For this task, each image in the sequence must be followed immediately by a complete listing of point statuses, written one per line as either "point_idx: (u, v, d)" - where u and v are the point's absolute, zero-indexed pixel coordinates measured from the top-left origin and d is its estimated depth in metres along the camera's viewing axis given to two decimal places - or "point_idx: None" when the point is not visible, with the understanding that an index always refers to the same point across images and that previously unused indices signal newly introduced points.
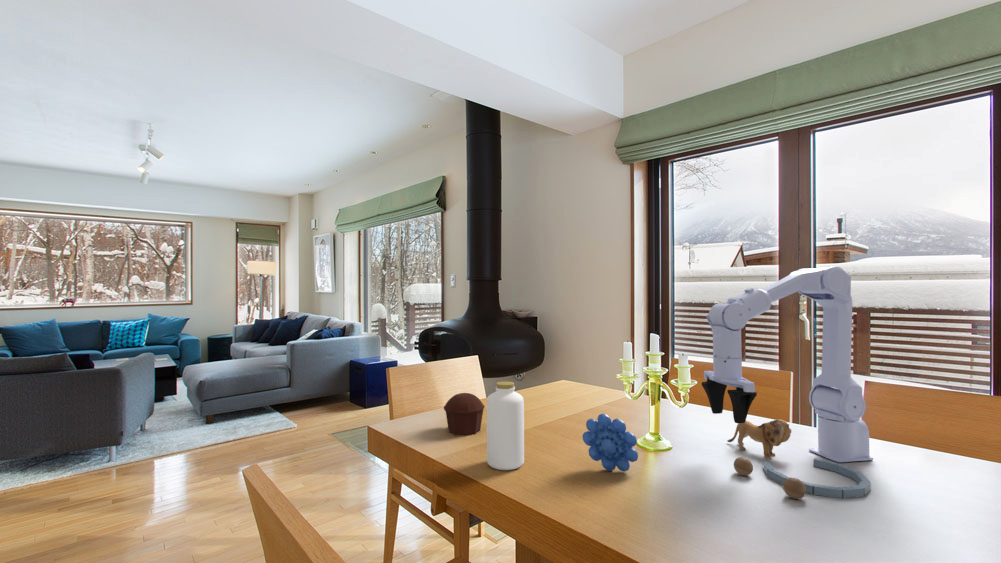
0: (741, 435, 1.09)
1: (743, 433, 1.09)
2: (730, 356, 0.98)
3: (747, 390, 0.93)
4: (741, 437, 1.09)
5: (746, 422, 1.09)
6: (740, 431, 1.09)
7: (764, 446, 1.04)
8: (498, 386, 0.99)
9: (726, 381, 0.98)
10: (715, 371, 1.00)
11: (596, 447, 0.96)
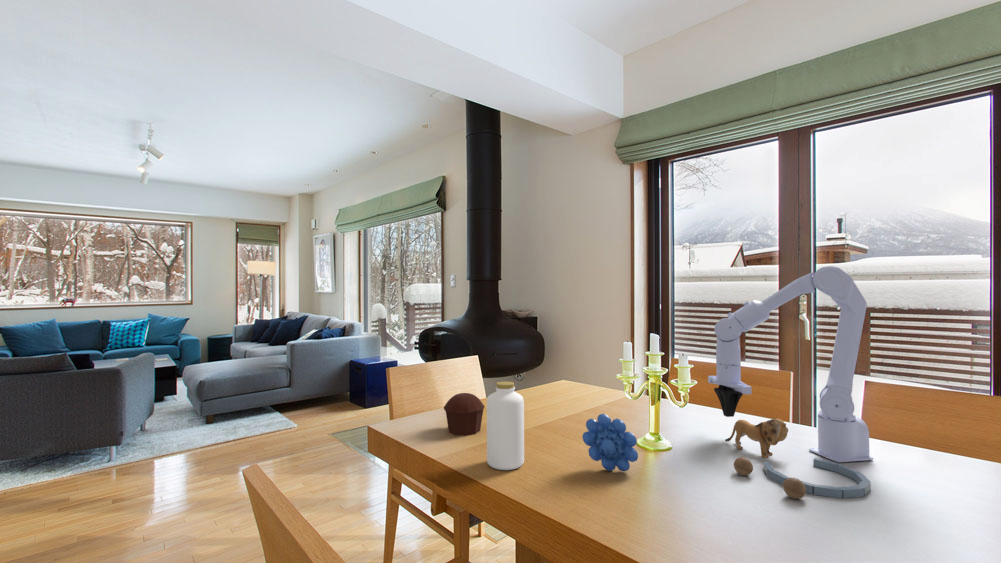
0: (738, 434, 1.10)
1: (740, 432, 1.09)
2: (722, 363, 1.17)
3: (745, 393, 1.11)
4: (738, 436, 1.10)
5: (743, 421, 1.10)
6: (737, 430, 1.10)
7: (761, 445, 1.04)
8: (498, 386, 0.99)
9: (727, 385, 1.15)
10: (718, 376, 1.18)
11: (596, 447, 0.96)
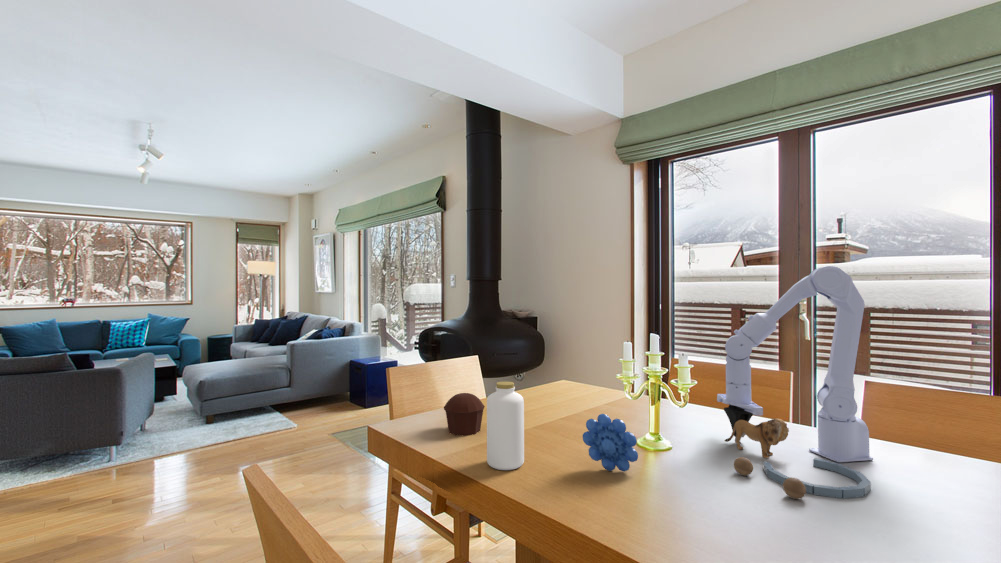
0: (739, 434, 1.09)
1: (741, 432, 1.09)
2: (733, 382, 1.13)
3: (756, 414, 1.07)
4: (739, 436, 1.09)
5: (744, 421, 1.09)
6: (738, 430, 1.10)
7: (762, 445, 1.04)
8: (498, 386, 0.99)
9: (737, 405, 1.11)
10: (728, 395, 1.14)
11: (596, 447, 0.96)
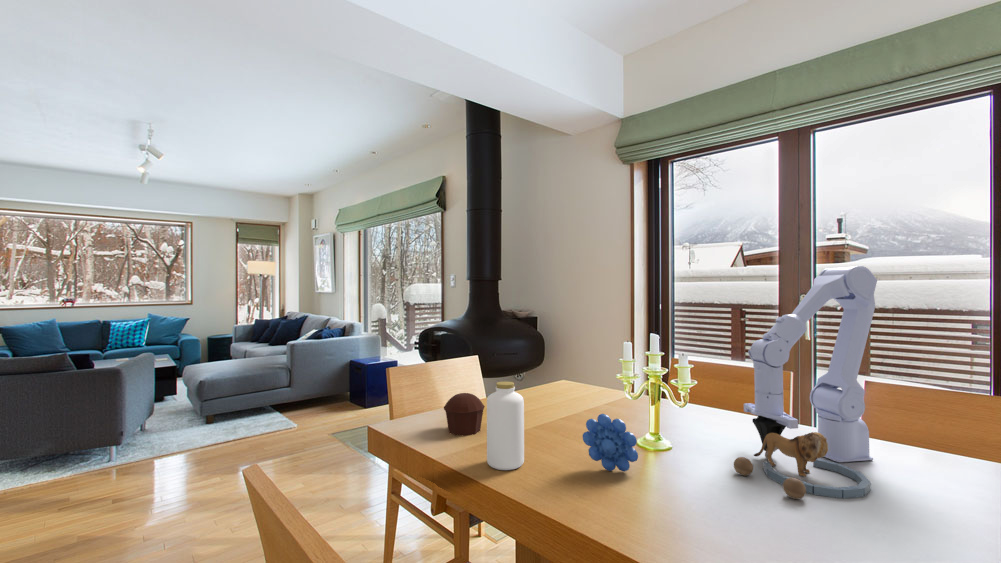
0: (770, 449, 0.99)
1: (773, 447, 0.99)
2: (771, 392, 1.02)
3: (791, 427, 0.97)
4: (770, 451, 0.99)
5: (776, 435, 0.99)
6: (769, 445, 0.99)
7: (798, 462, 0.94)
8: (498, 386, 0.99)
9: (769, 416, 1.01)
10: (757, 406, 1.04)
11: (596, 447, 0.96)
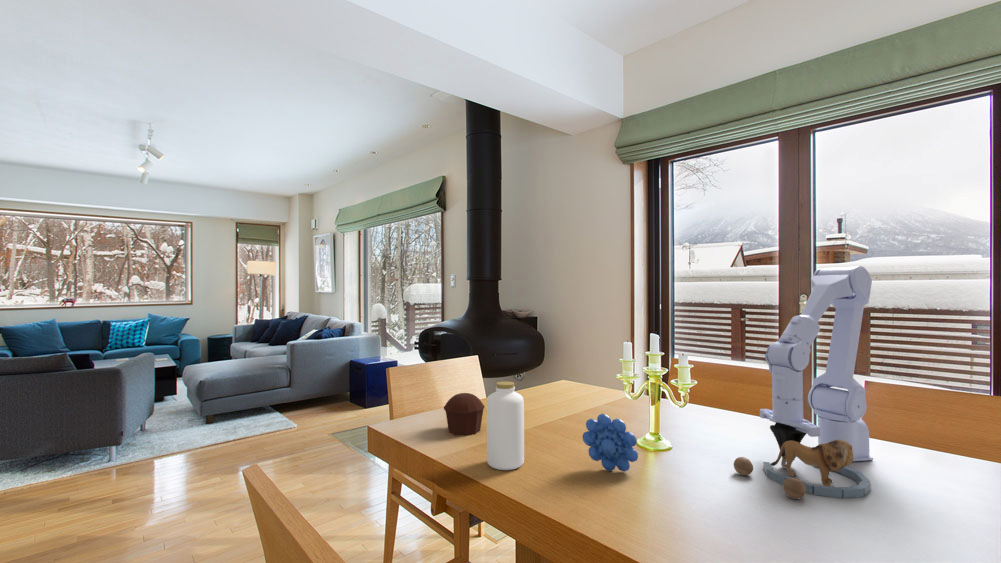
0: (790, 458, 0.94)
1: (792, 456, 0.94)
2: (795, 398, 0.96)
3: (812, 435, 0.91)
4: (790, 460, 0.94)
5: (795, 443, 0.94)
6: (789, 453, 0.94)
7: (823, 472, 0.89)
8: (498, 386, 0.99)
9: (788, 423, 0.96)
10: (775, 412, 0.98)
11: (596, 447, 0.96)
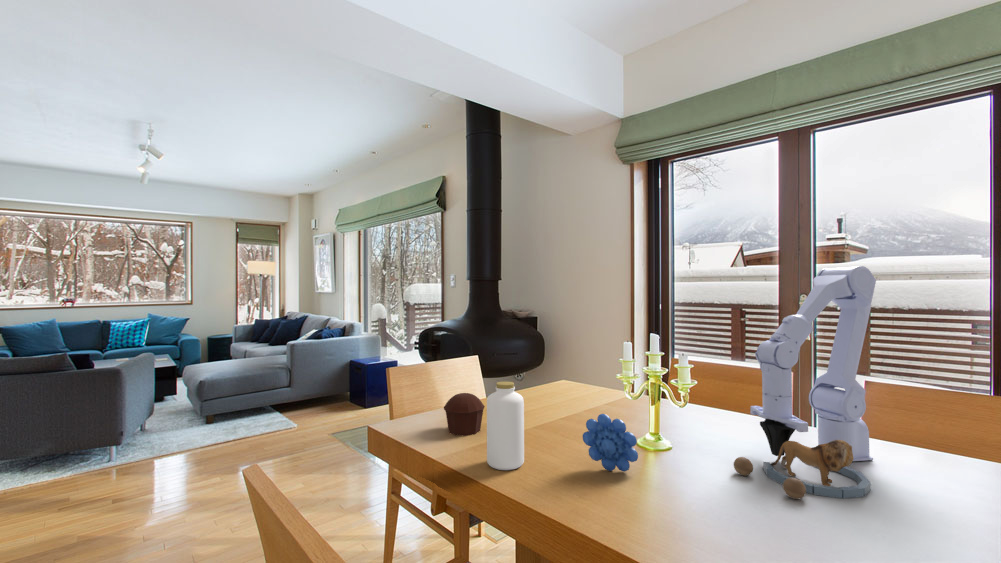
0: (790, 458, 0.94)
1: (792, 456, 0.94)
2: (782, 395, 0.99)
3: (801, 430, 0.94)
4: (790, 461, 0.94)
5: (795, 443, 0.94)
6: (788, 454, 0.94)
7: (822, 472, 0.89)
8: (498, 386, 0.99)
9: (777, 419, 0.99)
10: (765, 408, 1.01)
11: (596, 447, 0.96)
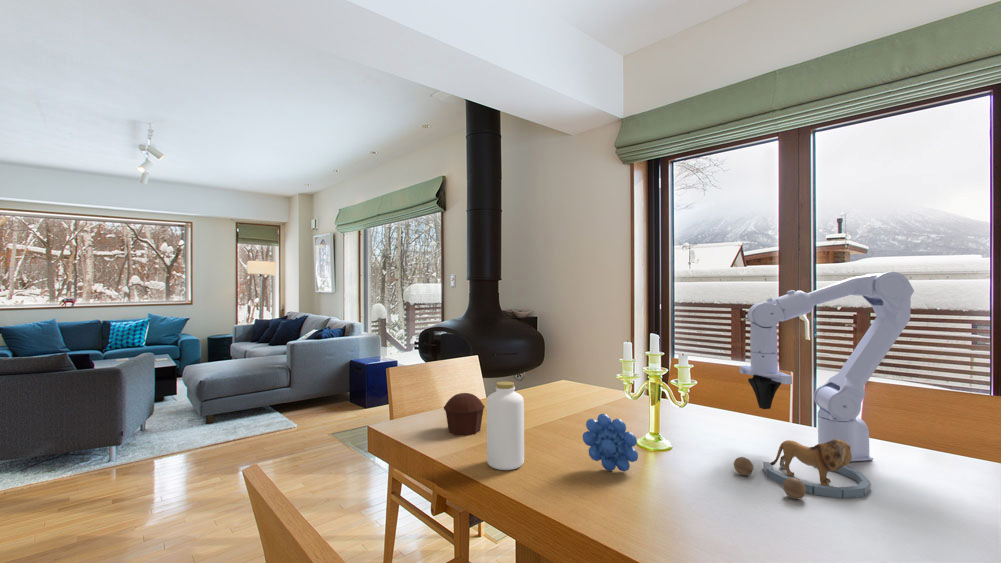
0: (788, 458, 0.94)
1: (791, 456, 0.94)
2: (761, 351, 1.07)
3: (785, 382, 1.02)
4: (788, 460, 0.94)
5: (794, 443, 0.94)
6: (787, 453, 0.94)
7: (821, 471, 0.89)
8: (498, 386, 0.99)
9: (764, 374, 1.06)
10: (753, 365, 1.09)
11: (596, 447, 0.96)
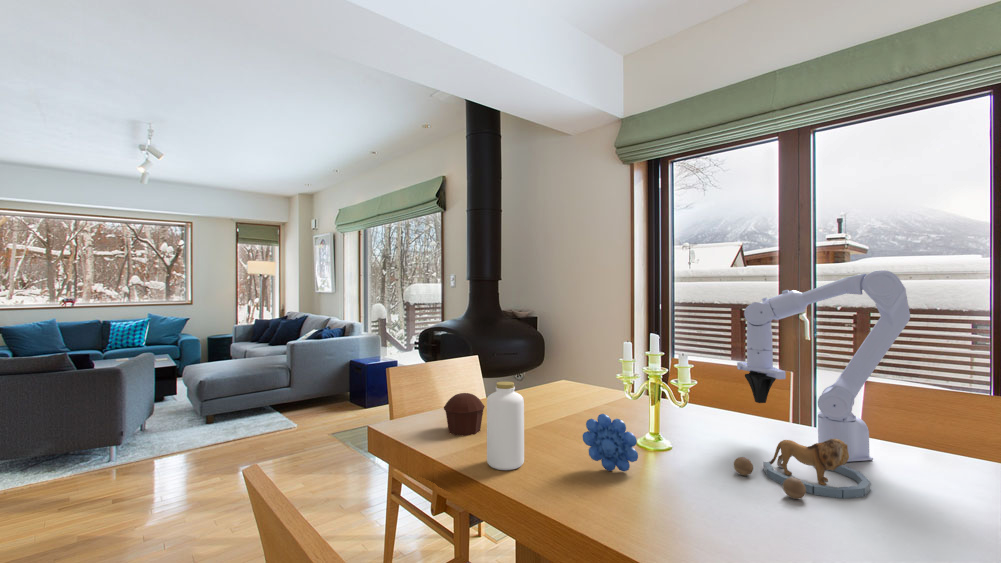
0: (786, 457, 0.94)
1: (788, 455, 0.94)
2: (752, 347, 1.14)
3: (779, 377, 1.08)
4: (786, 460, 0.94)
5: (791, 442, 0.95)
6: (784, 453, 0.95)
7: (818, 471, 0.89)
8: (498, 386, 0.99)
9: (759, 370, 1.12)
10: (749, 361, 1.15)
11: (596, 447, 0.96)
